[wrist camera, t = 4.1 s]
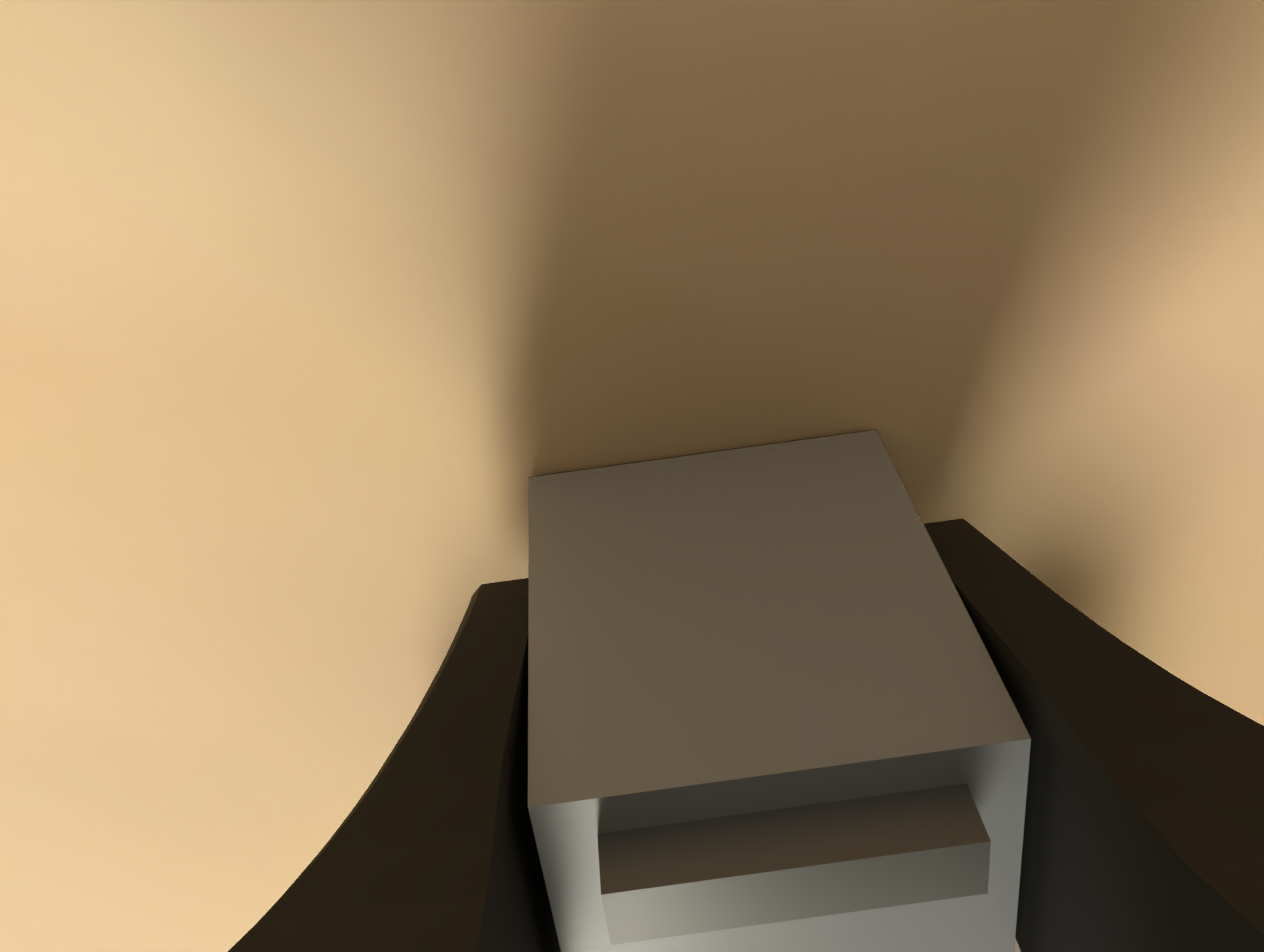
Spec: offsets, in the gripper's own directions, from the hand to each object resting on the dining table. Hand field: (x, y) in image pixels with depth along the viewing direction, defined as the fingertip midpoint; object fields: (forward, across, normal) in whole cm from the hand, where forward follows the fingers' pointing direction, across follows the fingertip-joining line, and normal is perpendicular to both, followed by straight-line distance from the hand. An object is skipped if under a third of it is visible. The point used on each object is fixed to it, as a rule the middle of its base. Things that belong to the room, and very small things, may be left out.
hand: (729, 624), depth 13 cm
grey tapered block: (+1, 0, +3) cm, 3 cm away
